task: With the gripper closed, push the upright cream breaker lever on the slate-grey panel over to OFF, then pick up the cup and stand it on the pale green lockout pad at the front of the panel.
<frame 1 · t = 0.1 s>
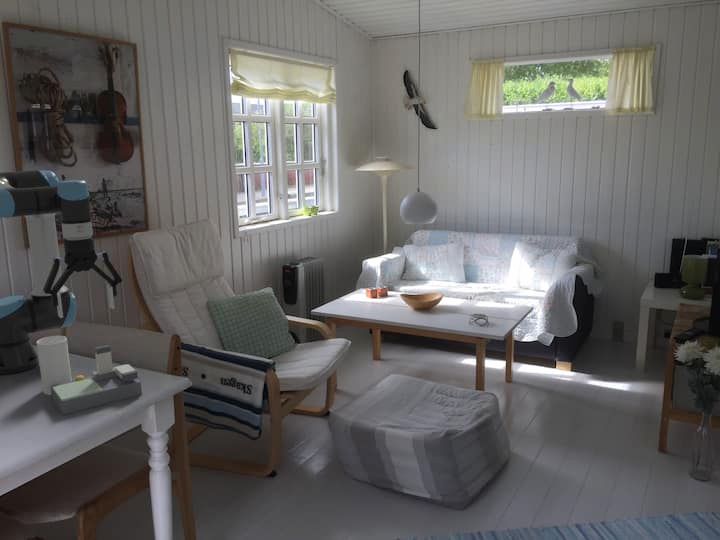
hand: (86, 312, 177), 28 cm above the table, fingers open, 13 cm apart
cup: (58, 389, 195), on the table
lever: (103, 359, 190), point 10 cm above the table, hinge at 0.0°
panel: (97, 396, 189), on the table
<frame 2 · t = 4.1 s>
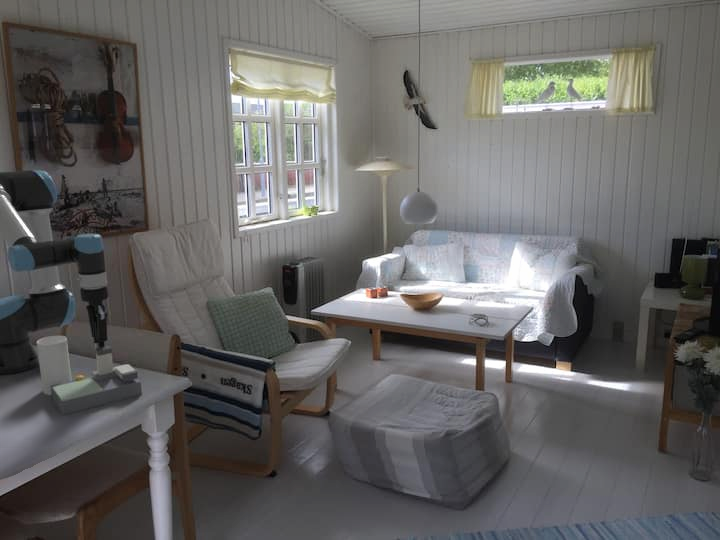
hand: (102, 361, 192), 9 cm above the table, fingers closed
lever: (104, 360, 190), point 10 cm above the table, hinge at 8.5°, touching gripper
everything else where it was.
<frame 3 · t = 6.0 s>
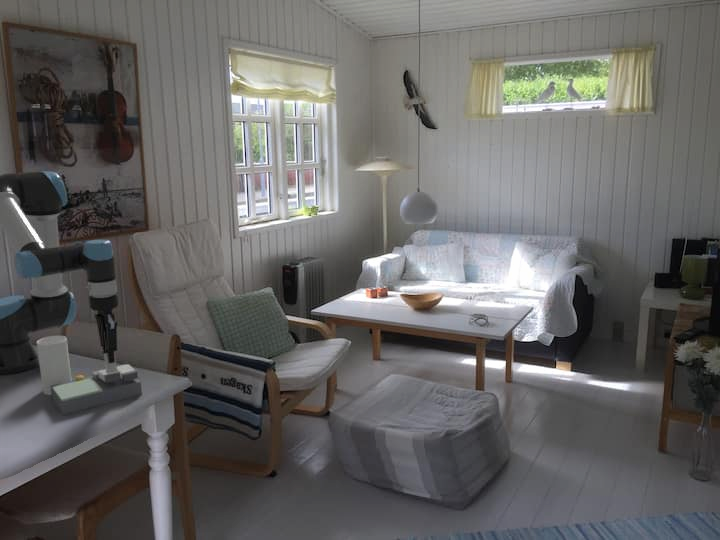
hand: (111, 371, 185), 8 cm above the table, fingers closed
lever: (109, 375, 188), point 6 cm above the table, hinge at 83.4°
everything else where it was.
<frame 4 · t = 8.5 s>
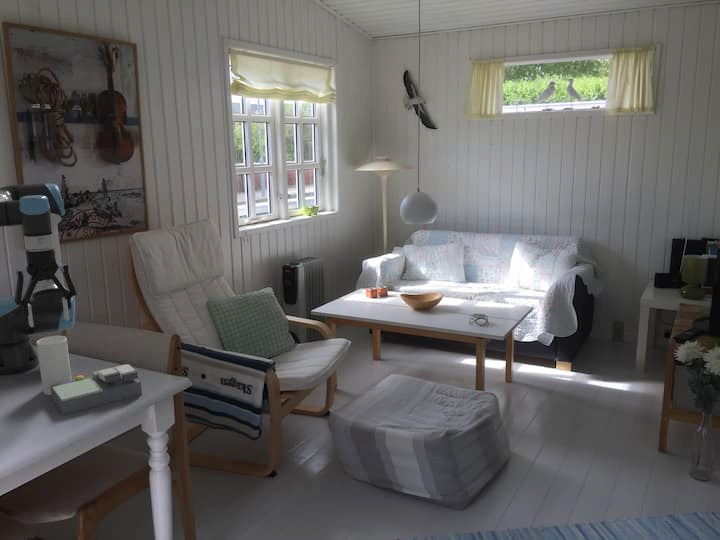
hand: (49, 322, 190), 21 cm above the table, fingers open, 9 cm apart
nothing on the table moved.
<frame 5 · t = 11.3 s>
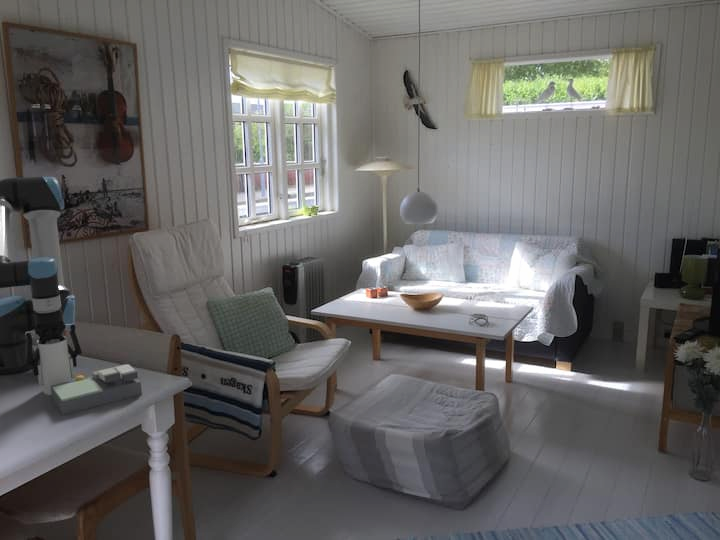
hand: (56, 380, 194), 3 cm above the table, fingers closed on cup, 8 cm apart
cup: (58, 389, 195), on the table, touching gripper
everything else where it was.
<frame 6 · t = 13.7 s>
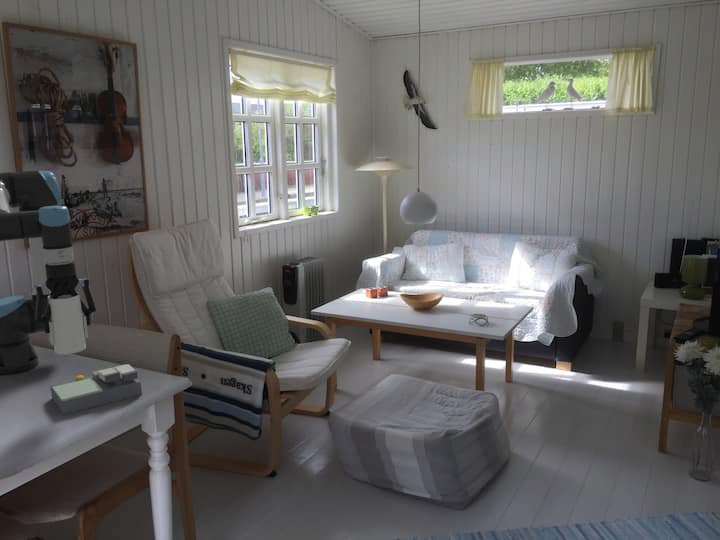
hand: (69, 340, 180), 19 cm above the table, fingers closed on cup, 8 cm apart
cup: (70, 350, 181), point 16 cm above the table, touching gripper
everything else where it was.
when the fingers open (8 cm above the table, at t = 16.2 s): cup stays where it is, resting on panel.
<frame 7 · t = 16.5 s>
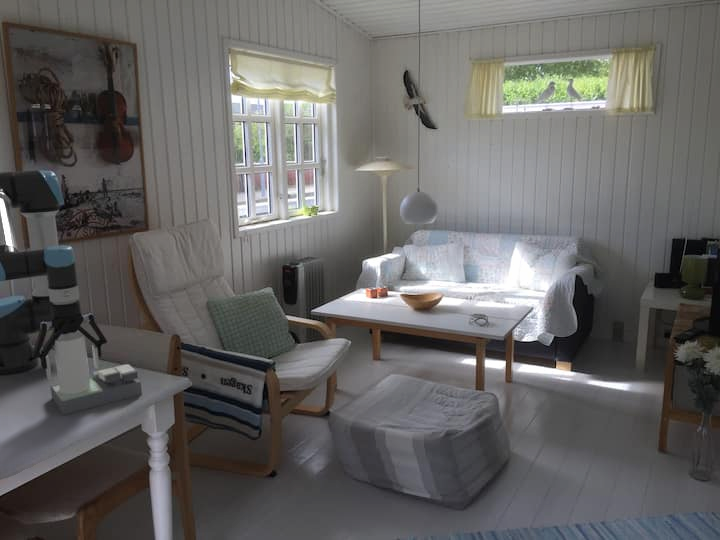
hand: (73, 373, 182), 9 cm above the table, fingers open, 12 cm apart
cup: (75, 389, 183), point 4 cm above the table, touching panel
everything else where it was.
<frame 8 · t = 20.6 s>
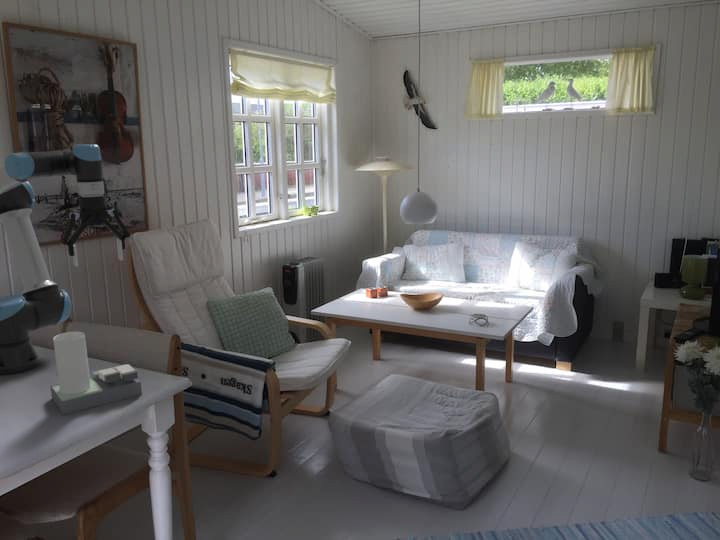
hand: (98, 262, 199), 37 cm above the table, fingers open, 13 cm apart
nothing on the table moved.
at the end: lever at +83° (first picture: +0°); cup inside the target area (0.5 cm from its centre), point 4.4 cm above the table; cup tilted 0° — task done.
